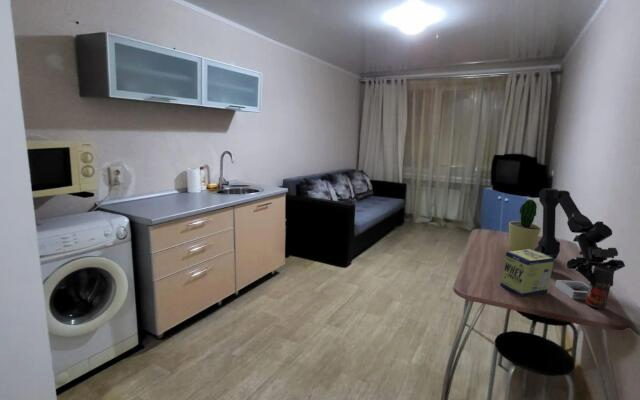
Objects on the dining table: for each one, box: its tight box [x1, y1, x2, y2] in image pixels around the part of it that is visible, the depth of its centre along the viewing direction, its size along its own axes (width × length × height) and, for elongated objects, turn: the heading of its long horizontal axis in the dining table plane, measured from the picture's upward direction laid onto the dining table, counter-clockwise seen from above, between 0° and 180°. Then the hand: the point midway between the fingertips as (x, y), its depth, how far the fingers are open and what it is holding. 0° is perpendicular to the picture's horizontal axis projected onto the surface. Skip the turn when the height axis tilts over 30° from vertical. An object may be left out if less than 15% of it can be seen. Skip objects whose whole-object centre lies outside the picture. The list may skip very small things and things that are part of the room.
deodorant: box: [585, 265, 616, 309], centre depth 132 cm, size 6×6×15 cm
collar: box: [555, 279, 590, 300], centre depth 144 cm, size 11×11×3 cm
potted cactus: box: [508, 198, 542, 251], centre depth 190 cm, size 15×15×30 cm
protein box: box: [500, 248, 555, 297], centre depth 144 cm, size 10×16×16 cm
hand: (603, 285), depth 131 cm, fingers closed on deodorant, 6 cm apart
